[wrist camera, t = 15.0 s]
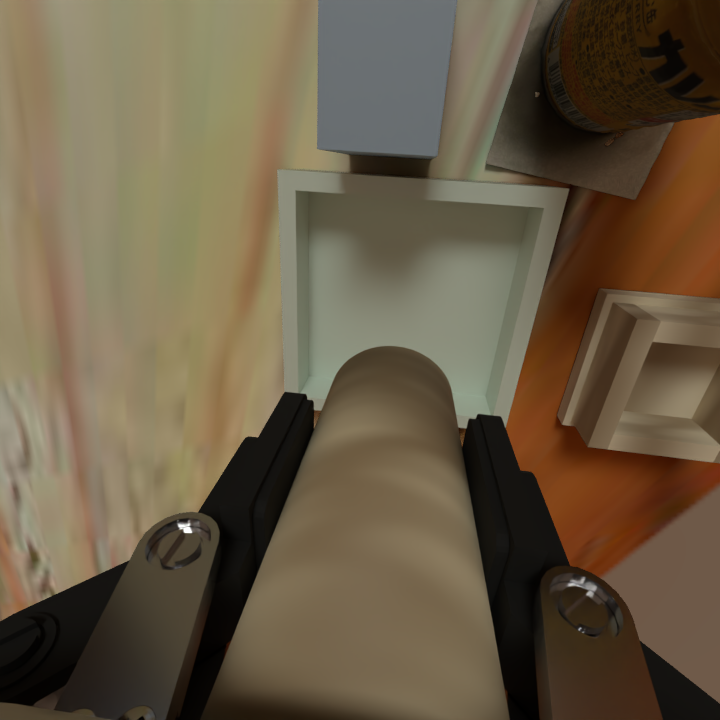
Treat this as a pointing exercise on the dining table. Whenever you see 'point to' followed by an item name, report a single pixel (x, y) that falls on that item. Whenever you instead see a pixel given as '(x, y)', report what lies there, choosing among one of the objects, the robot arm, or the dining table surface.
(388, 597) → the dowel
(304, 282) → the tray
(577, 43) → the condiment
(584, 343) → the socket block
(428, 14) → the block
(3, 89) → the dining table surface
